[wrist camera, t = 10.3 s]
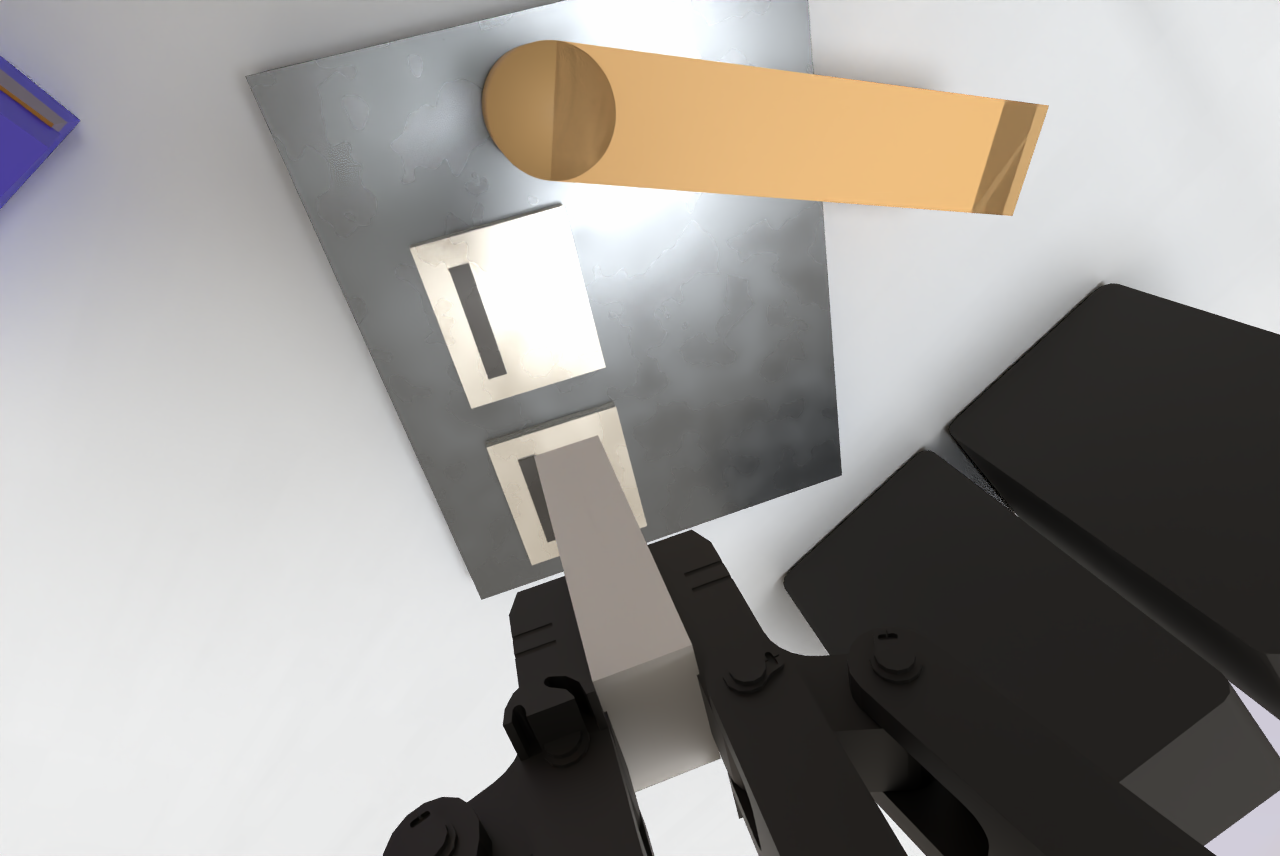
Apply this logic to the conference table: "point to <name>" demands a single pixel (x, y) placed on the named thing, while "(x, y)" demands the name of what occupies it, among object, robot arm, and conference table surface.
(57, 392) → the conference table surface
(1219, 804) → the speaker
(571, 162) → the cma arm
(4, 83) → the stapler
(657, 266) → the server board
